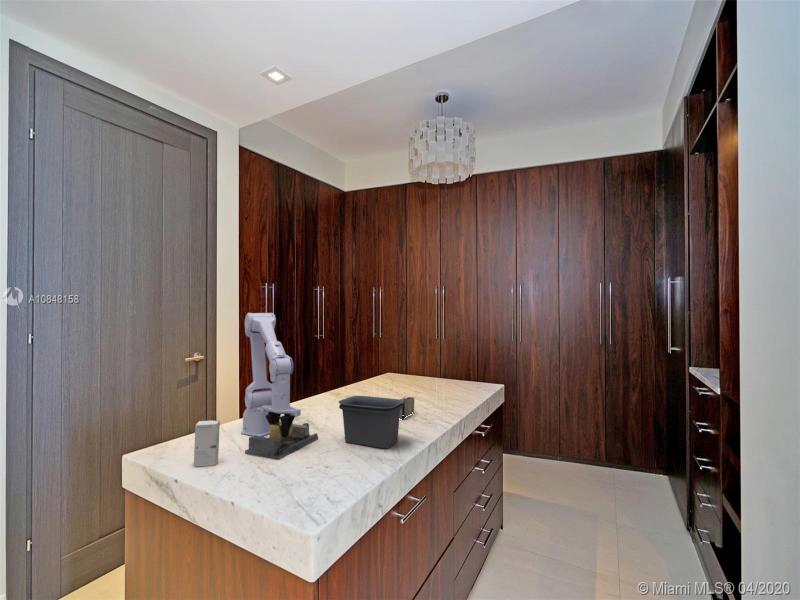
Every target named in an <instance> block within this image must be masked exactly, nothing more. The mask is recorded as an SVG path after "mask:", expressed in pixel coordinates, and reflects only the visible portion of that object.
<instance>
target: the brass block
mask: <svg viewBox="0 0 800 600" xmlns="http://www.w3.org/2000/svg"><path fill="white" fill-rule="evenodd" d="M293 424H294V421H293V422H292V424H291V427H290V430H289V434H288V436H287V437H285V438H283V436H282V424H281V420H280V421H279V422H277V423H274V424H271V425H270V433H269V437H270V438H272V439H278V440H280V444H282V443H284V442H286V441H289V440H291V439H292V429H293Z"/></svg>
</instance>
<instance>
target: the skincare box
mask: <svg viewBox="0 0 800 600" xmlns="http://www.w3.org/2000/svg"><path fill="white" fill-rule="evenodd" d="M220 424H221V422H220V420H219V419H218V420H199V421H198V422H197V423H196V424H195V427H194V449H193V452H194V455H193V467H209V466H211V467H212V466H216V464H217V463H218V461H219V450H220V449H219V448H220V429H221V428H220V426H221V425H220Z"/></svg>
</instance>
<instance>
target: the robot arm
mask: <svg viewBox="0 0 800 600" xmlns="http://www.w3.org/2000/svg"><path fill="white" fill-rule="evenodd" d="M276 322H277V318H276V315H275V314H274V313H273V312H256V313H255V312H254V313H253V312H247V314H246V315H245V319H244V333H245V336H247V337H248V338H249V341H250V351H251V370H252V382H251V383H250V384H249V385H248V386H247V387H246V388H245V396H244V403H245V404H244V405H245V407H246V409H245V410H244V412H243V414H242V431H241V432H240V433H241V434H242V435H247V436H260V437H265V436H266V435H270V425H271V424H274V423H277V422H279V421H281V424H282V436H283V438H285V437H287V436H288V434H289V430H290V427H291V424H292V422H293V423H294V420H295V418H296V417H297V418H298V417H300V416H301V414H302V413H301V411H302V410H301V409H300V408H295V407H293V406H291V375H292V374H293V371H294V362H293V358H292V357H291V356H289V355H288V354H286V351H285V349H284V347H283V344H282V342H281V341H279V340H278V339H277V336H276V333H275V327H276V325H277V323H276ZM265 344H266V345H265ZM266 356H267V359H268V361H269V362H268V363H269V366H268V370H269V376H270V382H269V380H268V378H267V362H266V361H267V360H266Z"/></svg>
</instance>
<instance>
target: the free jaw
mask: <svg viewBox="0 0 800 600" xmlns="http://www.w3.org/2000/svg"><path fill="white" fill-rule="evenodd" d="M309 435H310V424H309V423H308V422H304V423H303V424H296V423H293V429H292V438H295V439H301V440H303V439H305V438H307V437H309Z"/></svg>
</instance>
